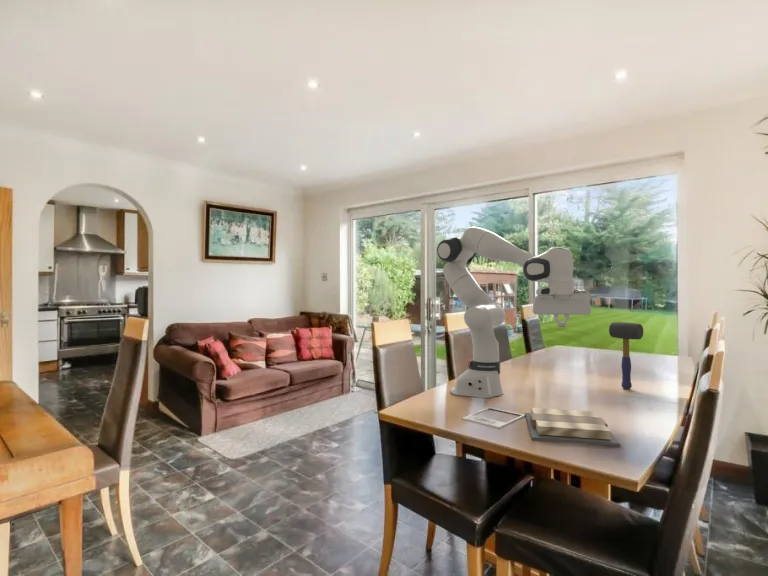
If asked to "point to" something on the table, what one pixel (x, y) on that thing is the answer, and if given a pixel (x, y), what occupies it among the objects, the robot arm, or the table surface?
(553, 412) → the ash plank far
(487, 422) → the photo frame
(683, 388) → the table surface
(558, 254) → the robot arm
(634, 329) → the rubber mallet
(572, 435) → the ash plank near
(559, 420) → the striped wooden plank
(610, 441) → the underlay mat
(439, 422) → the table surface
